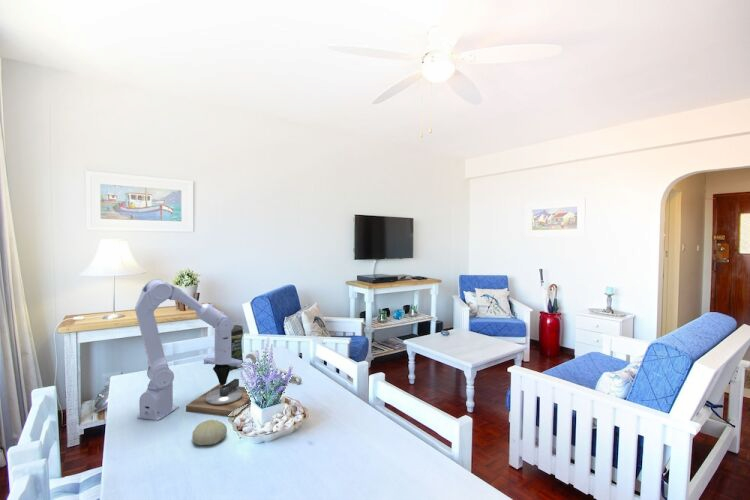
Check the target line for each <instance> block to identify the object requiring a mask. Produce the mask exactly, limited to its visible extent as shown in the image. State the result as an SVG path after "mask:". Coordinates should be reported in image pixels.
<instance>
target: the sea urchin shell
mask: <svg viewBox="0 0 750 500" xmlns="http://www.w3.org/2000/svg"><path fill="white" fill-rule="evenodd" d="M227 432H228V429H227V426H226V424H225V423H224V422H222V421H219V420H217V419H207V420H204V421H202V422H200V423H198V424H197V425H196V426H195V428H194V430H193V431H192V437H191V438H192V441H193V442H194V444H195V445H198V446H210V445H215V444H217V443H219V442H220V441H222V439H224V438H225V436H226V434H227Z"/></svg>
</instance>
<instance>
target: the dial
mask: <svg viewBox="0 0 750 500" xmlns="http://www.w3.org/2000/svg"><path fill="white" fill-rule="evenodd" d="M238 386H239V387H240V379H239V378H234V379H233V380H231V381H229V382H228V383H226V384H225V386H222V387H220V389H217V390H214V391H212V392H210V393H208V394H207V395H206V402H207V403H208V404H211V405H225V404H230V403H233V402H236V401H238V400H239V399H240V398H241V397H242V390H240V389H238V388H236V387H238Z"/></svg>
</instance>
